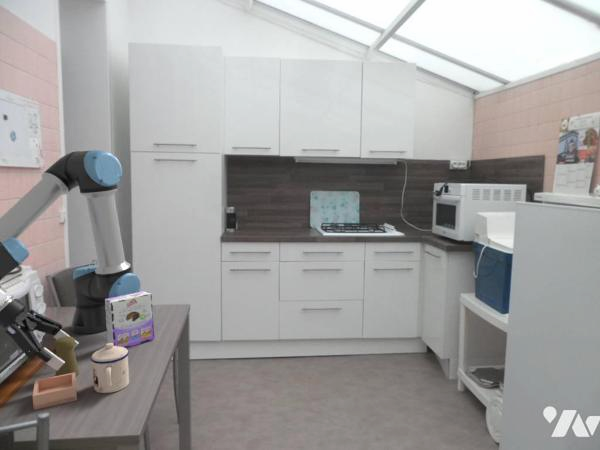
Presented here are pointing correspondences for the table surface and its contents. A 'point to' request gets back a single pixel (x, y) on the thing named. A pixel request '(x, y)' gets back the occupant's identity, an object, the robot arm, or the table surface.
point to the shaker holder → (54, 390)
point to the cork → (66, 355)
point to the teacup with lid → (110, 369)
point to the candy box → (129, 319)
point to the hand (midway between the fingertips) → (68, 356)
